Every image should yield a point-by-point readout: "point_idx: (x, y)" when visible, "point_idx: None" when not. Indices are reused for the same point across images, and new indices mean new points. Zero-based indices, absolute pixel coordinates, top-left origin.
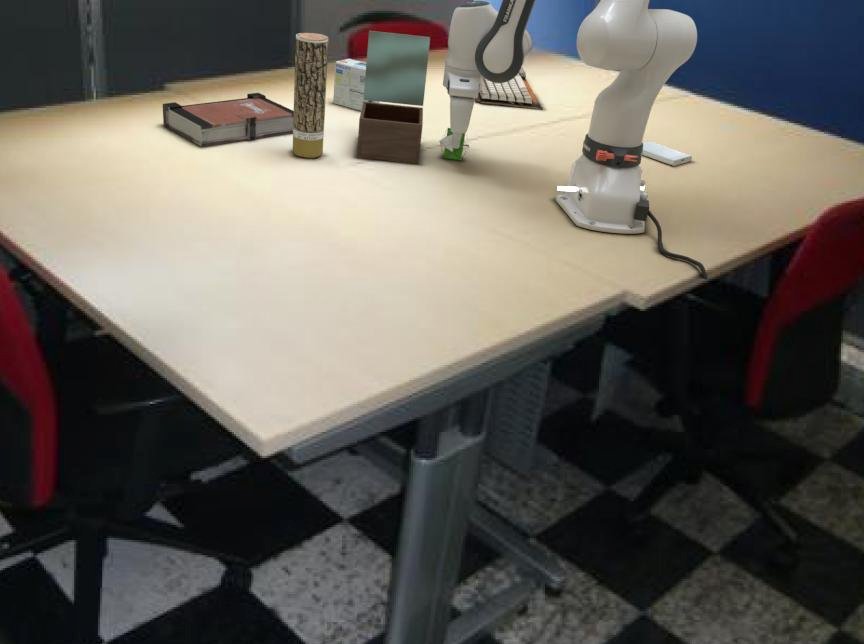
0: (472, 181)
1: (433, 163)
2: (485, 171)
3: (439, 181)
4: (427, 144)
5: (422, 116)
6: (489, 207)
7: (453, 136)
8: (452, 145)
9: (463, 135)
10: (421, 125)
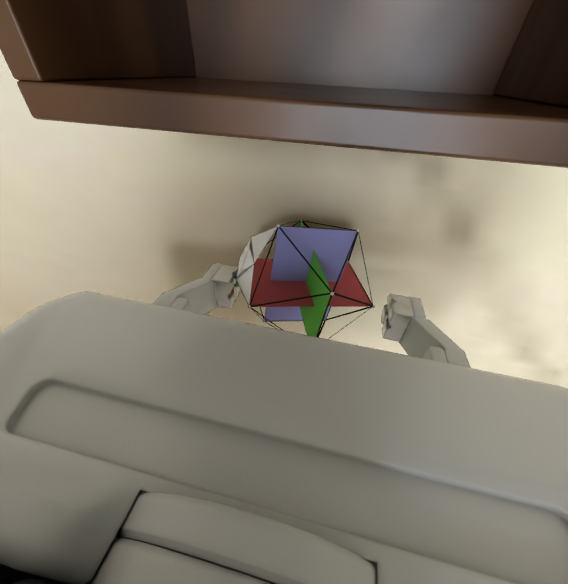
0: (131, 267)
1: (229, 171)
2: (221, 311)
3: (66, 173)
4: (496, 170)
5: (290, 139)
6: (4, 268)
7: (179, 289)
8: (212, 267)
9: (307, 329)
10: (28, 107)
